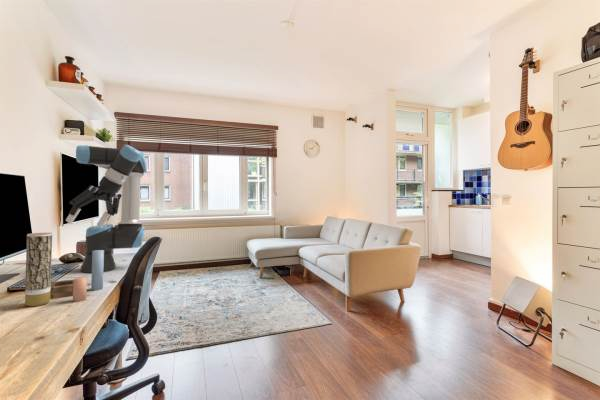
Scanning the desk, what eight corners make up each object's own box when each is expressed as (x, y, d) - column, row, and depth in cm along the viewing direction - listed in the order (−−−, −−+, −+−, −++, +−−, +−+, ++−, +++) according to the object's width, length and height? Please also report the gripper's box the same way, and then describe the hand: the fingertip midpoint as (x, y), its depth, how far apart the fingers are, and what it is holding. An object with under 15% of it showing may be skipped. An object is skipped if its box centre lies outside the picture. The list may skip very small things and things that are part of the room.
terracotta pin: (80, 297, 113) (80, 276, 113) (88, 298, 112) (89, 277, 112) (70, 301, 109) (70, 279, 109) (78, 302, 108) (79, 280, 108)
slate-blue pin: (97, 287, 126) (98, 249, 126) (105, 288, 126) (106, 250, 125) (88, 289, 123) (89, 251, 122) (96, 290, 122) (97, 252, 122)
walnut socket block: (79, 288, 124) (79, 278, 124) (79, 294, 116) (79, 284, 116) (47, 292, 118) (48, 282, 118) (45, 299, 110) (46, 288, 110)
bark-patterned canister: (35, 308, 102) (37, 235, 102) (19, 305, 103) (21, 234, 103) (55, 301, 109) (57, 233, 108) (40, 299, 110) (42, 232, 110)
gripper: (92, 175, 109) (59, 225, 108) (141, 191, 133) (115, 232, 132) (79, 166, 111) (47, 214, 110) (130, 183, 135) (104, 223, 134)
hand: (84, 224), depth 121 cm, fingers open, 13 cm apart
